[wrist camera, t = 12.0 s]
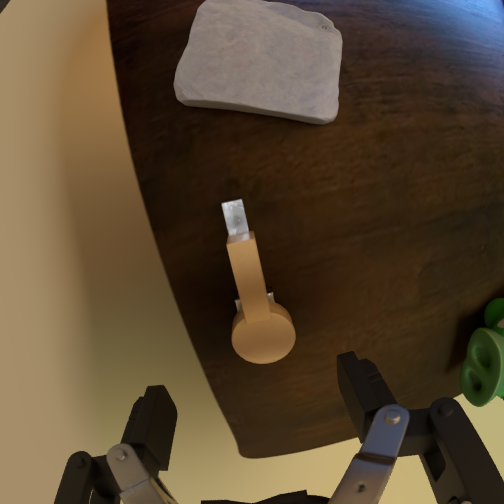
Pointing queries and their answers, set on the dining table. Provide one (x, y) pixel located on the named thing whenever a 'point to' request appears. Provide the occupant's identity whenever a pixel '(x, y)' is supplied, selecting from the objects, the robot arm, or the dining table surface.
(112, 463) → the robot arm
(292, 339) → the wooden round paddle
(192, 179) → the dining table surface
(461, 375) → the piggy bank
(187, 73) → the stone block
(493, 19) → the dining table surface
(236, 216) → the fork
